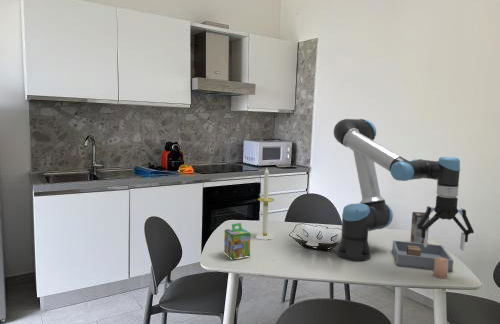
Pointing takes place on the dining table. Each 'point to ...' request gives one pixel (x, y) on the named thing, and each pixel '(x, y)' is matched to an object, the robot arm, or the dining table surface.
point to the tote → (420, 261)
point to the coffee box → (414, 229)
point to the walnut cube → (413, 250)
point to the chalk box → (237, 242)
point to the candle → (265, 203)
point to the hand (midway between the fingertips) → (443, 248)
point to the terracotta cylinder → (440, 267)
